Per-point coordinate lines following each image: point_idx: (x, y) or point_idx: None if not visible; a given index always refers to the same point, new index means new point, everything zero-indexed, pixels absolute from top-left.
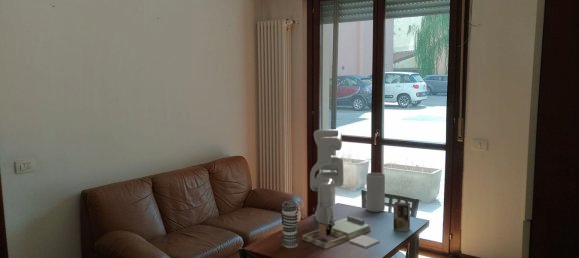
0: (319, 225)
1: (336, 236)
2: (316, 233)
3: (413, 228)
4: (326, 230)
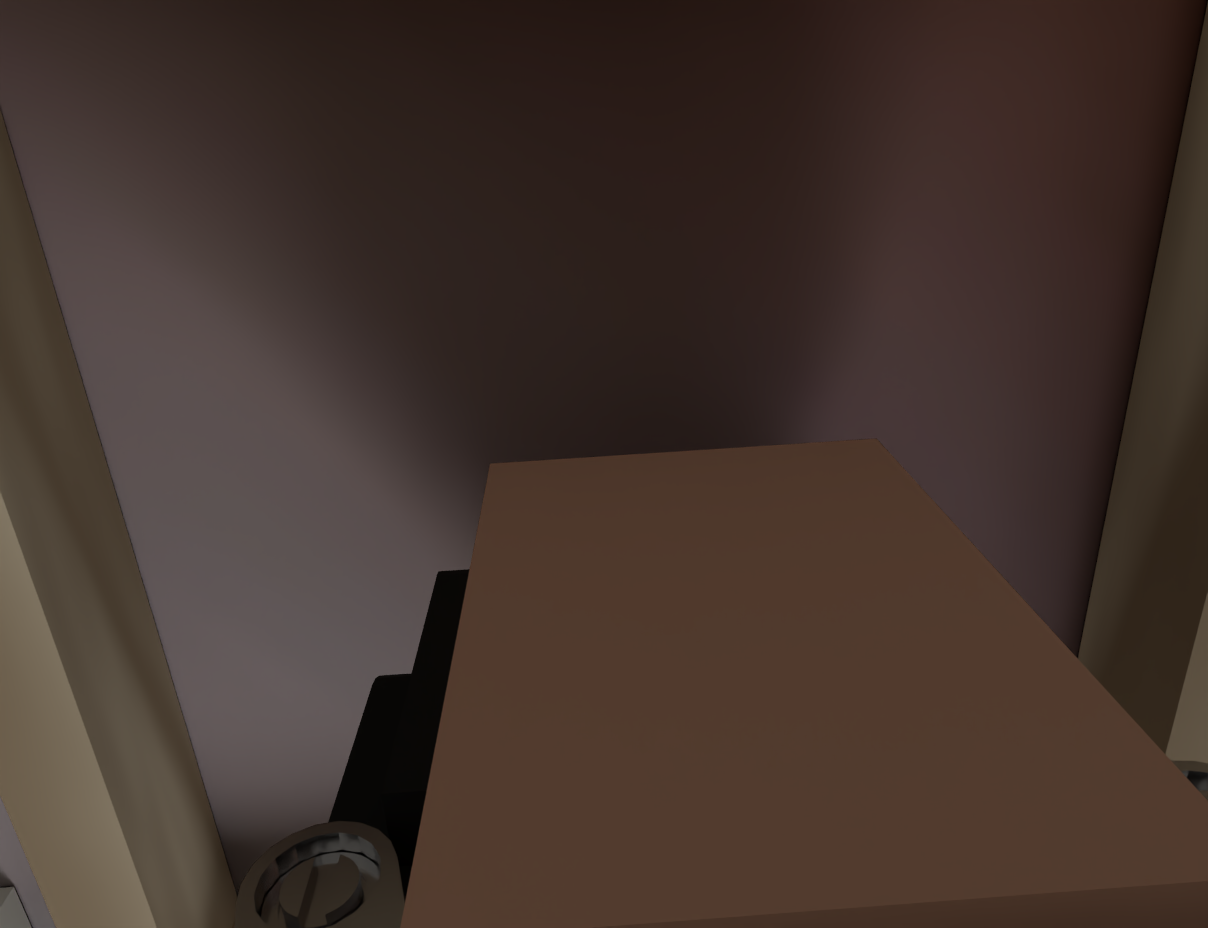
0: (1090, 746)
1: None
2: (1149, 552)
3: None
4: None
